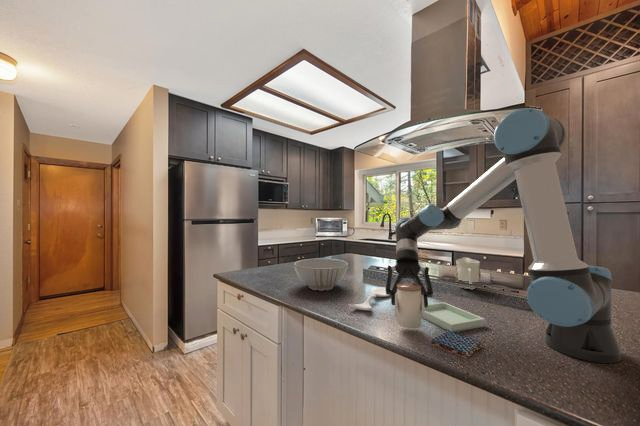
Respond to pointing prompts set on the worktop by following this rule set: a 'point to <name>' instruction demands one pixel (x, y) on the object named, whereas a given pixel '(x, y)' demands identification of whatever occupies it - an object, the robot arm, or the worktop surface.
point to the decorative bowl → (321, 272)
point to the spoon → (366, 305)
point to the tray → (452, 317)
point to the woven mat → (456, 343)
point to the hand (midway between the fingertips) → (409, 315)
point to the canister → (409, 305)
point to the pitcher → (467, 270)
